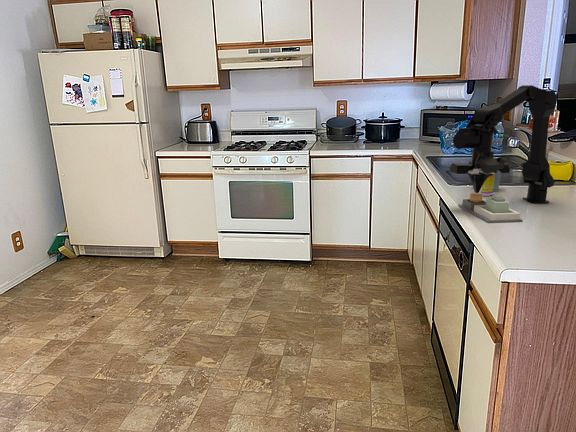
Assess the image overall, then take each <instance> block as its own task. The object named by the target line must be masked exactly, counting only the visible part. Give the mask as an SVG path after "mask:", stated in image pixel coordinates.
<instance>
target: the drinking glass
mask: <svg viewBox="0 0 576 432" xmlns="http://www.w3.org/2000/svg"><path fill="white" fill-rule="evenodd" d="M501 175H502V173H500V171H499V170H498V172H497V173H495V178H494V186H493V191H495V192H498V191H499V187H500V182H501V181H500V180H501V177H502V176H501Z"/></svg>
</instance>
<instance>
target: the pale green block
mask: <svg viewBox="0 0 576 432" xmlns="http://www.w3.org/2000/svg"><path fill="white" fill-rule="evenodd" d="M485 202H486V206H485V210H487V211H489V212H491V213H508V211H509V208H510V204H511V203H510V201H508V200H506V199H505V198H504V197H502V196H491V197H489V198H486V200H485Z"/></svg>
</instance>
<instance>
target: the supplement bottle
mask: <svg viewBox="0 0 576 432" xmlns="http://www.w3.org/2000/svg"><path fill="white" fill-rule="evenodd" d="M491 174H493V175H492V176H489V177H488V178H487V179H486V180H485V182H484V183H483V185H482V187H481V189H480V191H479V194H482V195H483V196H482V197H489V196H490V195H491V196H492V195H493V193H494V192H493V186H494V178H495V173H491ZM473 193H475V191H473Z"/></svg>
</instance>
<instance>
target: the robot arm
mask: <svg viewBox="0 0 576 432" xmlns="http://www.w3.org/2000/svg"><path fill="white" fill-rule="evenodd" d="M525 102H526V103H528V110H529V112H530V115H531V116H532V125H531V138H530V140H531V141H530V149H529V151H530V152H529V157H528V158H527V160H526V161H523V163H522V170H521V173H522V176H523V184H528V188H527V193H526V197H522V199H523V200H525V201H527V202H530V203H531V204H541V203H542V204H544V203H549V204H550V201H549V200H547V196H548V188H552V187H554V185H555V182H556V181H555V179H554V177H553V175H552V174H551V168H550V163H549V162H548V159H547V158H546V155H547V144H548V134H549V125H550V124H549V123H550V116H551V115H552V114H553V113H554V111H555V110H556V106H557V102H558V94H557V93H556V92H555V91H553V90H546V89H542V88H540V87H537V86H535V85H531V84H530V85H524V84H523V85H520V86H519V87H518V88H517V89H516V90H514V91H513V92H511V93H510V94H507V95H506V96H505V97H503V98H502V99H500V100H498V101H497V102H495V103H494V104H491V105H486V106H483V107H480V108H479V109H476V110H475V112H474V113H473V116H472V117H471V119H470V120H469V122H468V123H467V125H466V126H465V127H459V128H458V131H457V132H456V133H455V134H454V135H453V139H452V144H453V147H454V148H455V149H457V150H465V149H470V153H471V160H470V161H469V163H468V164H467V163H466V164H465V163H462V162H455V163H454V162H452V163H451V165H450V166H449V172H452V173H454V174H456V175H468V177H469V180H470V182H471V185H472V187H473V190H474V191H475V193H479V191H480V189H481V187H482V185H483V183H484V182H485V180H486V179H487V178H488V177H489V176H492V175H493V174H491V173H497V172H498V170H499V171H500V173H501V174H509V173H510V169H511V166H510V165H509V164H508V163H506V159H505V157H494V151H492V146H493V138H494V135H495V134H496V135H498V134H499V130H498V129H497V128H496V126H497V125H498V124H499V123H500V122H502V121H503V118H504V116H505V115H506V114H508V113H509V112H511V111H512V110H513V109H516V108H517V107H518V106H520V105H521V104H523V103H525ZM474 191H473V192H474Z"/></svg>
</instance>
